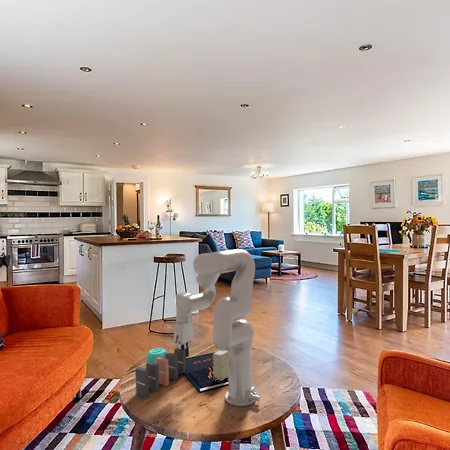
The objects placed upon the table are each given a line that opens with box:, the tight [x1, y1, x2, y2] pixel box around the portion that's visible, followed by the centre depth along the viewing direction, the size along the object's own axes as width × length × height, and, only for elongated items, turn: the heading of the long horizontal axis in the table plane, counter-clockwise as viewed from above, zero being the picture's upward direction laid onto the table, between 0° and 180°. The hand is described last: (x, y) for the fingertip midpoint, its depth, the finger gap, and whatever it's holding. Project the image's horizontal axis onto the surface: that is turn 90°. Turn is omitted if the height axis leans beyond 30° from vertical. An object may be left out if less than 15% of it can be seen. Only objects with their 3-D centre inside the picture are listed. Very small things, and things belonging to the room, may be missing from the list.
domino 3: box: [156, 357, 170, 387], centre depth 153 cm, size 2×6×11 cm, turn 57°
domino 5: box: [173, 347, 187, 375], centre depth 163 cm, size 2×6×11 cm, turn 57°
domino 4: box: [165, 351, 179, 381], centre depth 158 cm, size 2×6×11 cm, turn 57°
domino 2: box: [145, 362, 160, 392], centre depth 148 cm, size 2×6×11 cm, turn 57°
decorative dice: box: [145, 347, 168, 364], centre depth 169 cm, size 8×8×8 cm
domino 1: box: [135, 366, 150, 399], centre depth 143 cm, size 2×6×11 cm, turn 57°
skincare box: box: [212, 349, 229, 382], centre depth 156 cm, size 6×4×12 cm
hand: (185, 356), depth 166 cm, fingers closed
